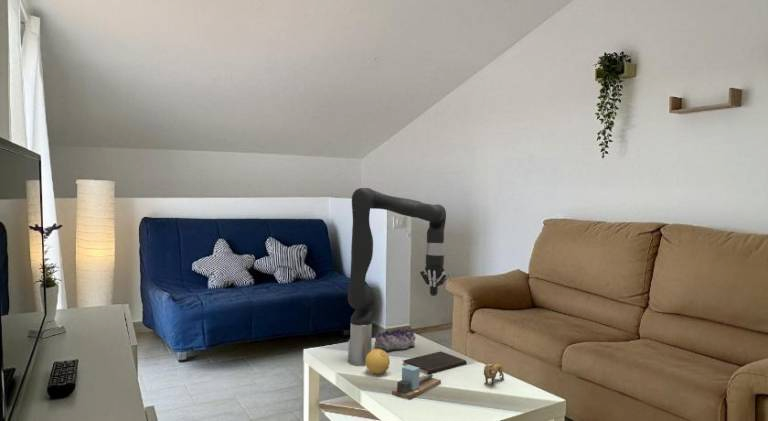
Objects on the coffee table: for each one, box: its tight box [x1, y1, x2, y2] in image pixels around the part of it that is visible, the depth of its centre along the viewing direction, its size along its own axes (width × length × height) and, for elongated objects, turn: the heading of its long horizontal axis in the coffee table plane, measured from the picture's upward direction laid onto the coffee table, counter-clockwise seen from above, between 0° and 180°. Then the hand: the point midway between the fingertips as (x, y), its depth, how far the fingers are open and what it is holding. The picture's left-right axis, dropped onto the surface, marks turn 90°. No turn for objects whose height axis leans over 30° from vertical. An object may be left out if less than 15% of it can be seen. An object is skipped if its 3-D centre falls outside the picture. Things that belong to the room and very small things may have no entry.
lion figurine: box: [483, 363, 505, 387], centre depth 218 cm, size 15×5×9 cm, turn 149°
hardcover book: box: [402, 351, 468, 376], centre depth 238 cm, size 16×23×2 cm
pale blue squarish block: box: [401, 365, 421, 390], centre depth 205 cm, size 5×4×7 cm
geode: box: [374, 328, 416, 352], centre depth 261 cm, size 20×12×10 cm, turn 120°
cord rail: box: [391, 374, 442, 401], centre depth 209 cm, size 8×21×5 cm, turn 142°
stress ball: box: [365, 348, 391, 375], centre depth 225 cm, size 10×10×10 cm
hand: (433, 295), depth 227 cm, fingers closed
